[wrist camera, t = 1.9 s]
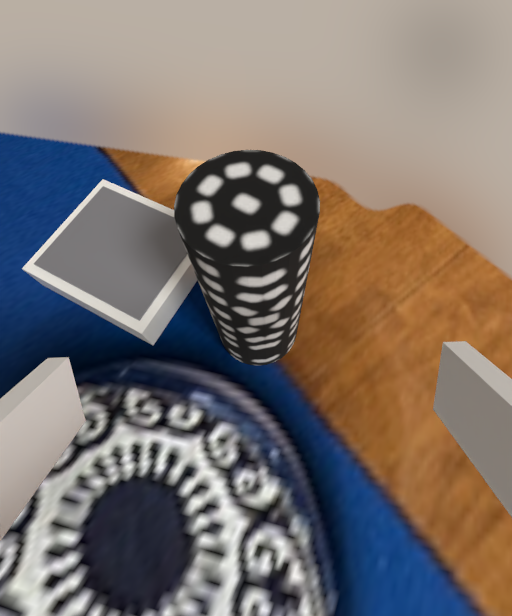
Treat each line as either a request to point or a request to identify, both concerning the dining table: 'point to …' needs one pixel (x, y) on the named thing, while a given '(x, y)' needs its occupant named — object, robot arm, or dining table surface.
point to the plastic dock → (118, 261)
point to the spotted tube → (250, 247)
